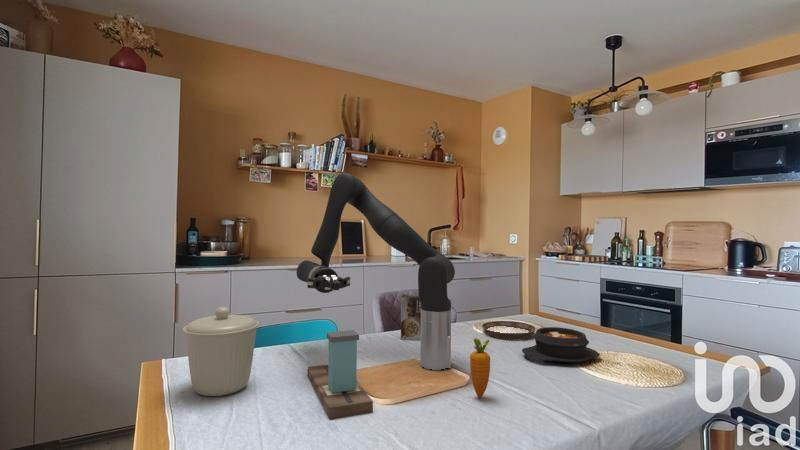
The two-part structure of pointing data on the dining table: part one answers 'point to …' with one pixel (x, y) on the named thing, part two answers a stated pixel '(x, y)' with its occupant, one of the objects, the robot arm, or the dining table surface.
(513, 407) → the dining table surface
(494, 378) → the dining table surface
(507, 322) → the plant saucer
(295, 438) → the dining table surface
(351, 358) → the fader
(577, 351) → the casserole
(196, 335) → the canister
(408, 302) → the coffee box
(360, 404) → the grooved wooden base
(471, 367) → the carrot
